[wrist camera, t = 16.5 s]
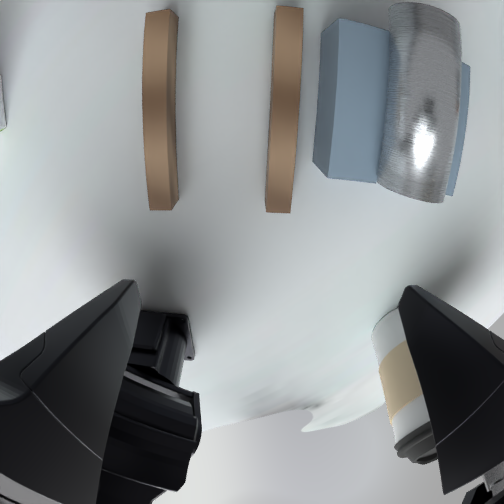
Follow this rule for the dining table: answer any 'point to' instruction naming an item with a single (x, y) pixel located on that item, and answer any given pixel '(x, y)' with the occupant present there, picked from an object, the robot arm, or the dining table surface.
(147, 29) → the guide channel
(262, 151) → the dining table surface
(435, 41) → the axle
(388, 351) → the coffee cup
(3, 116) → the syrup box
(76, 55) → the dining table surface
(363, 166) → the v block
